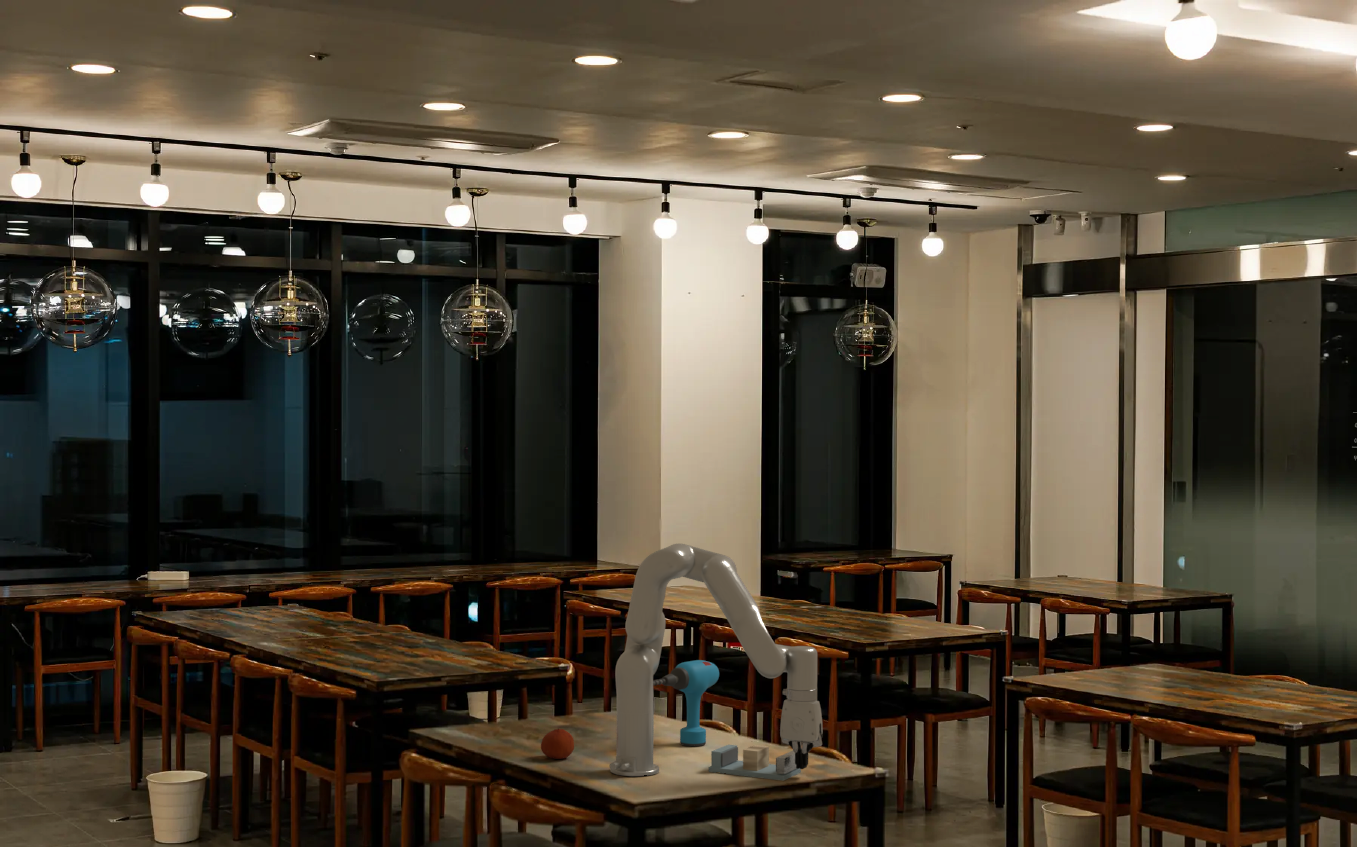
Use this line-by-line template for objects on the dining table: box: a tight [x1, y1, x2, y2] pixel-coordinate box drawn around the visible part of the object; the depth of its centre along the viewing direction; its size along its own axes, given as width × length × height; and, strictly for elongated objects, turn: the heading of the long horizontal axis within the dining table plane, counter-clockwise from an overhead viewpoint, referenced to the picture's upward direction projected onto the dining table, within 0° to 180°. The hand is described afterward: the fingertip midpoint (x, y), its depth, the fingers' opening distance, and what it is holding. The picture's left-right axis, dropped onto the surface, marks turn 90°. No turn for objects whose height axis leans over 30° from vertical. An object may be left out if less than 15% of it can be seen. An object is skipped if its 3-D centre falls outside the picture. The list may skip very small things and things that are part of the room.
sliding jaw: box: [775, 750, 797, 774], centre depth 405 cm, size 10×2×4 cm, turn 152°
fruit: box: [540, 728, 575, 760], centre depth 424 cm, size 9×9×8 cm
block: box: [742, 744, 770, 771], centre depth 409 cm, size 7×4×5 cm, turn 151°
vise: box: [708, 744, 802, 782], centre depth 409 cm, size 11×21×5 cm, turn 62°
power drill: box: [653, 659, 720, 747], centre depth 440 cm, size 28×9×23 cm, turn 139°
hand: (801, 767), depth 403 cm, fingers closed
